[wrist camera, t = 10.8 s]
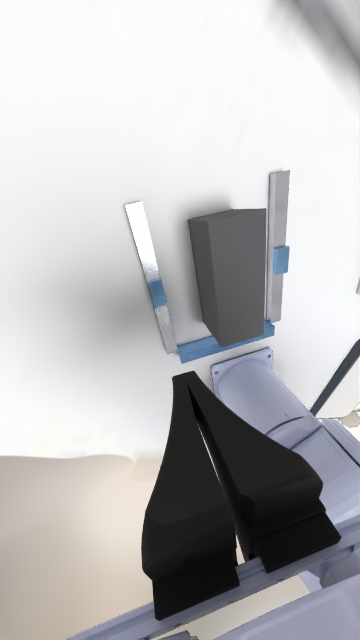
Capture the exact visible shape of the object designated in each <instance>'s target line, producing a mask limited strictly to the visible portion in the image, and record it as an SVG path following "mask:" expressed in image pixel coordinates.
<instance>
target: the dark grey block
mask: <svg viewBox="0 0 360 640" xmlns="http://www.w3.org/2000/svg"><path fill="white" fill-rule="evenodd" d="M188 223H189V230H190V237H191V243H192V250H193V256H194V263H195V270H196V276H197V283H198V290H199V296H200V303H201V309H202V316H203V322H204V324H205V325H206V326H207V328H208V329H209V331H210V332H211V333H212V335H213V336H214V338H215V339H216V341H217V342H218V343H219V345H220V346H221V348H222V347H226V346H229V345H232V344H235V343H239V342H242V341H245V340H249V339H252V338H255V337H259V336H262V335H264V303H265V252H266V209H233V210H229V211H224V212H220V213H215V214H211V215H206V216H202V217H198V218H193V219H189V220H188Z"/></svg>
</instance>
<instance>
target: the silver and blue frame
mask: <svg viewBox="0 0 360 640" xmlns="http://www.w3.org/2000/svg"><path fill="white" fill-rule="evenodd" d="M289 175H290V170H288V171H283V172H278V173H274V174H270V193H269V235H268V278H267V320H265V321H264V335H262V336H259V337H255V338H252V339H249V340H245V341H242V342H239V343H235V344H232V345H229V346H226V347H222V348H221V346H220V345H219V343H218V342H217V341H216V339H215V338H214V336H211V337H208V338H205V339H201V340H198V341H194V342H191V343H188V344H184V345H181V346H178V347H177V344H176V340H175V336H174V332H173V328H172V324H171V320H170V316H169V311H168V307H167V301H166V297H165V293H164V289H163V285H162V281H161V278H160V275H159V271H158V267H157V262H156V258H155V254H154V250H153V246H152V242H151V238H150V234H149V230H148V226H147V222H146V218H145V213H144V209H143V205H142V202H139V203H134V204H129V205H125V206H126V209H127V213H128V216H129V220H130V223H131V227H132V231H133V234H134V238H135V241H136V245H137V248H138V252H139V255H140V259H141V263H142V266H143V270H144V273H145V277H146V280H147V284H148V287H149V291H150V295H151V298H152V302H153V305H154V309H155V312H156V316H157V319H158V323H159V327H160V330H161V334H162V337H163V341H164V344H165V348H166V351H167V354H170V353H173V352H177V351H178V354H179V357H180V360H181V363H186V362H189V361H192V360H195V359H199V358H202V357H205V356H208V355H212V354H215V353H218V352H221V351H225V350H228V349H231V348H234V347H238V346H241V345H244V344H247V343H251V342H254V341H257V340H260V339H264V338H267V337H270V336H274V328H275V326H273V325H272V324H271V323H274V322H277V321H280V319H281V303H282V287H283V273H286V272H288V260H289V246H285V239H286V223H287V207H288V191H289ZM357 294H360V282H359V286H358V290H357Z"/></svg>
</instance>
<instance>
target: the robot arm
mask: <svg viewBox="0 0 360 640" xmlns="http://www.w3.org/2000/svg"><path fill="white" fill-rule="evenodd" d="M272 358H273V351H272V350H271V349H270V348H267V349H264V350H261V351H258V352H254V353H251V354H248V355H245V356H242V357H238V358H235V359H232V360H229V361H226V362H222V363H219V364H216V365H213V366H212V368H211V371H212V378H213V384H214V391H215V395H214V394H213V393H212V392H211V391H210V390H209V388H208V387H207V386H206V385H205V384H204V383H203V382H202V380H201V379H200V378H199V377H198V375H197V374H196V372H195V371H190V372H187V373H183V374H180V375H177V376H173V378H172V381H173V408H172V417H171V424H170V430H169V435H168V440H167V445H166V449H165V453H164V457H163V461H162V464H161V467H160V471H159V474H158V477H157V480H156V484H155V486H154V489H153V492H152V495H151V498H150V500H149V503H148V506H147V508H146V511H145V518H144V524H143V533H142V546H141V549H142V550H141V551H142V569H143V571H144V573H145V574H146V575H147V576H148V577H149V578H150V579H151V580H152V584H153V598H154V601H153V602H150V603H148V604H146V605H143V606H141V607H138V608H136V609H134V610H131V611H129V612H127V613H124V614H122V615H120V616H117V617H115V618H112V619H110V620H108V621H105V622H103V623H101V624H98V625H96V626H94V627H91V628H89V629H86V630H84V631H82V632H79V633H77V634H75V635H72V636H70V637H67V638H65V639H63V640H151V639H153V638H155V637H158V636H160V635H162V634H164V633H167V632H169V631H171V630H173V629H176V628H178V627H180V626H182V625H185V624H187V623H189V622H191V621H193V620H196V619H198V618H200V617H203V616H205V615H207V614H209V613H212V612H214V611H216V610H218V609H220V608H223V607H225V606H227V605H230V604H232V603H234V602H236V601H239V600H241V599H243V598H245V597H248V596H250V595H252V594H254V593H257V592H259V591H261V590H263V589H266V588H268V587H270V586H272V585H275V584H277V583H279V582H281V581H284V580H286V579H288V578H290V577H292V576H295V575H297V574H298V576H299V577H300V578H301V580H302V581H303V582H304V584H305V585H306V587H307V588H308V589H309V591H310V592H311V593H310V594H308V595H306V596H303V597H301V598H299V599H297V600H294V601H292V602H290V603H287V604H285V605H283V606H281V607H279V608H277V609H274V610H272V611H270V612H268V613H266V614H264V615H262V616H259V617H257V618H256V619H253V620H251V621H249V622H247V623H245V624H243V625H241V626H239V627H237V628H235V629H233V630H231V631H229V632H227V633H225V634H223V635H222V636H220V637H217V638H216V639H214V640H360V442H359V441H358V440H357V439H356V438H355V437H354V436H353V435H352V434H351V433H350V432H349V431H348V430H347V429H346V428H345V427H344V426H343V425H342V424H341V423H340V422H339V421H337V420H332V419H331V420H330V419H329V418H325V419H323V420H322V423H323V424H324V425H323V424H322V423H321V422H320V421H319V420H318V419H317V418H316V417H314V416H313V415H312V414H311V413H310V411H309V410H308V409H307V408H306V407H305V406H304V405H303V404H302V403H301V402H300V401H299V399H298V398H297V397H296V396H295V395H294V394H293V393H292V392H291V391H290V390H289V389H288V387H287V386H286V385H285V384H284V383H283V382H282V381H281V380H280V379H279V378H278V377H277V376H276V374H275V373H274V372H273V371H272ZM216 371H217V372H216ZM197 423H198V424H197ZM198 426H199V427H198ZM199 428H200V429H199ZM200 430H201V432H200ZM201 433H202V435H203V437H204V440H205V442H206V445H207V447H208V449H209V452H210V455H211V457H212V460H213V463H214V466H215V469H216V472H217V475H218V477H217V475H216V472H215V469H214V467H213V464H212V462H211V459H210V456H209V454H208V451H207V448H206V446H205V443H204V440H203V438H202V435H201ZM218 478H219V480H218ZM219 481H220V482H219ZM236 535H237V538H238V541H239V544H240V547H241V551H242V554H243V557H244V560H245V563H243V564H240V565H238V563H237V556H236V548H237V545H236V544H237V543H236ZM158 640H199V639H198V638H197V636H190V633H189V632H188V631H187V630H186V631H183V632H180V633H177V634H174V635H171V636H167V637H164V638H162V639H158Z"/></svg>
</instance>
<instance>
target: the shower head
mask: <svg viewBox="0 0 360 640" xmlns="http://www.w3.org/2000/svg"><path fill="white" fill-rule="evenodd" d="M339 419H340V421H341V423H342V424H343V425H345V426H347V427H349V428H351V427H358V426H359V424H360V417H359V416H358V414H357V413H355V412H353V411H352V412H351V413H350V414H349V415H348V416H346V417H344V418H339Z"/></svg>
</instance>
